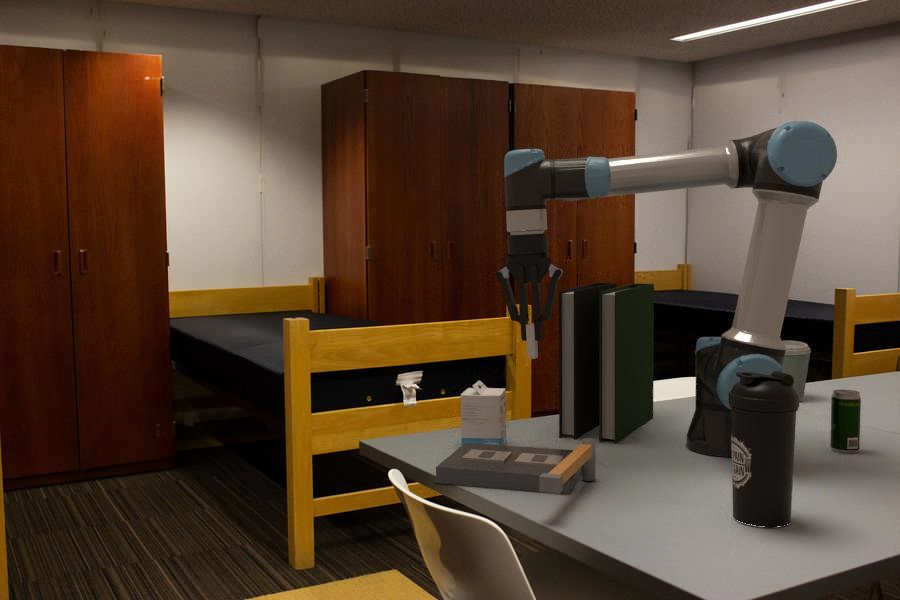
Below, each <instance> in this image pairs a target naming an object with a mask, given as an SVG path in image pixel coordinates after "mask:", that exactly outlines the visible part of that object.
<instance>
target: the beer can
mask: <svg viewBox="0 0 900 600" xmlns="http://www.w3.org/2000/svg"><path fill="white" fill-rule="evenodd" d="M860 394H861V392H860V391H857V390H853V389H833V390H832V395H831V400H830V401H831V406H830V411H831V412H830V443H829V444H830V449H831V450H832V451H833V452H834V453H838V454H847V455H853V454H857V453H859V451H860V449H861V447H860V444H861V442H860V441H861V438H860V437H861V411H862V409H861V407H862V406H861V405H862V404H861V403H862V397H861V395H860Z"/></svg>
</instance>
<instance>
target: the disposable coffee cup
mask: <svg viewBox="0 0 900 600" xmlns="http://www.w3.org/2000/svg"><path fill="white" fill-rule="evenodd" d="M781 341H782V342H783V344H784V345H785V346H786V352H785V357H784V362H783V366H782V368H783V369H784V372H785V373H787V374H789V375H791V376H792V377H793V379H794V383H793V388H794V389H795V390H796V393H797V394H798V395H799V403H800V402H802V401H803V399H804V397H805V391H806V383H807V375H808V370H809V363H810V357H811V353H812V351H811V348H810V347H809V345H808V343H806V342H803V341H797V340H781Z"/></svg>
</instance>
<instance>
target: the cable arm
mask: <svg viewBox="0 0 900 600" xmlns="http://www.w3.org/2000/svg"><path fill="white" fill-rule="evenodd" d="M573 450H574V451H573V452H571V453H570V454H569V455H568V456H567V457H566V458H565V459H564V460H563V461H561V462H560V463H559V464H558V465H557V466H556V467H555V468H554V469H552V470H551V471H550V472H549V473H542V474H541V475H540V476H539V492H538V493H546V492H548V494H556V495H557V494H558V495H559V493H560V492H561V491H562V490H563V484H564V483H565V482H566V481H567V480H568V479H569V478H570V477H571V476H572V475H573V474H574V473H575V472H576V471H577V470H578V469H579V468H580V467H581V466H582V473H581V480H582V481H587V482H591V481H595V480H596V439H595V438H593V437H584V438H582V439H581V443H580V444H578V446H577V447H575V449H573Z"/></svg>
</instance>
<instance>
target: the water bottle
mask: <svg viewBox="0 0 900 600" xmlns="http://www.w3.org/2000/svg"><path fill="white" fill-rule="evenodd" d="M736 376H738V377H740V381H739V382H737V383H736V384H735V385H734V386H733V388H732V390H731V391H730V392H729V406H730V407H731V432H732V436H731V452H732V457H731V484H732V487H731V488H732V518H733V517H734V518H735V519H736V520H738V521H740V522H743V523H746V524H750V525H751V524H752V525H756V526H765V527H777V526H784V525H787V524H789V523H790V524H791V521H792V520H791V519H792V501H793V483H794V482H793V480H794V463H795V446H796V445H795V444H796V425H797V411H799V407H800V402H799V395H798V394H797V393H796V390H795V389H794V388H793V383H794V379H793V377H792V376H791V375H789V374H787V373H784V372H781V371H774V372H773V373H772V374H771V375H765V374H759V373H752V372H737V373H736ZM734 518H733V519H734ZM735 519H734V520H735ZM736 520H735V521H736ZM738 521H737V522H738ZM740 522H739V523H740ZM790 524H789V525H790ZM787 526H788V525H787Z"/></svg>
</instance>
